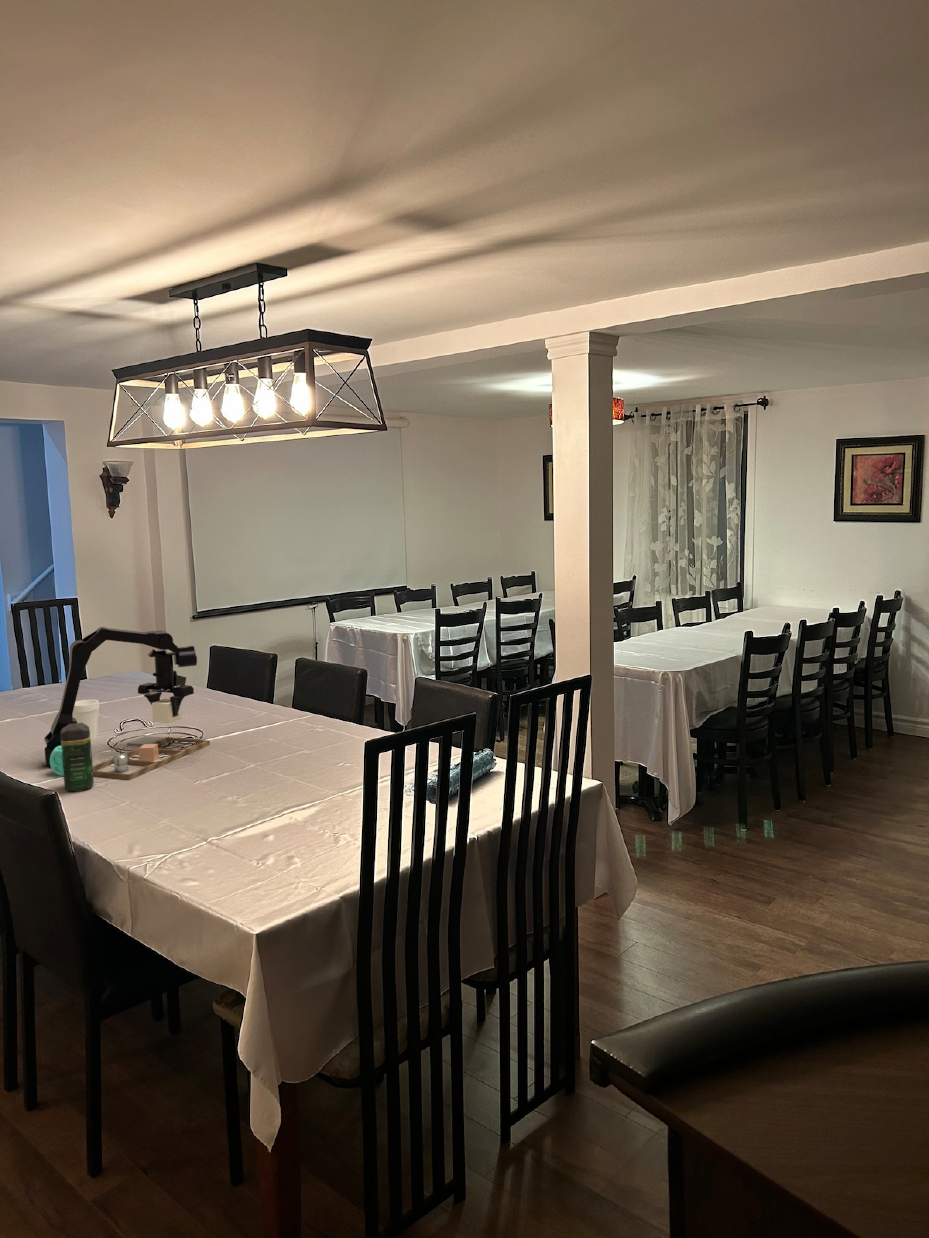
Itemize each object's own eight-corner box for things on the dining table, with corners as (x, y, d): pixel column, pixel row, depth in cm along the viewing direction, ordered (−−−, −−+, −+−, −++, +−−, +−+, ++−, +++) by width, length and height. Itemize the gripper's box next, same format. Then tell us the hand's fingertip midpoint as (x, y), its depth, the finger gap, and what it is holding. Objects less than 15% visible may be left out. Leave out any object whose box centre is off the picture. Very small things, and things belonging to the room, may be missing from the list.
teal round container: (90, 769, 280) (88, 744, 279) (72, 776, 273) (70, 751, 271) (68, 767, 282) (66, 742, 281) (50, 775, 275) (48, 749, 274)
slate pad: (148, 746, 304) (148, 744, 304) (127, 744, 307) (127, 742, 307) (166, 739, 313) (166, 737, 312) (145, 737, 316) (145, 736, 316)
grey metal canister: (122, 773, 275) (121, 757, 274) (111, 772, 276) (110, 756, 275) (131, 769, 278) (130, 753, 278) (120, 768, 280) (119, 752, 279)
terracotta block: (154, 761, 287) (153, 747, 286) (140, 761, 287) (138, 748, 286) (158, 757, 291) (157, 743, 291) (145, 757, 291) (144, 744, 291)
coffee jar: (94, 790, 259) (88, 727, 257) (64, 793, 257) (58, 730, 254) (95, 780, 268) (89, 719, 266) (66, 784, 266) (60, 722, 263)
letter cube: (169, 723, 297) (168, 703, 296) (153, 721, 299) (151, 702, 298) (182, 718, 303) (180, 699, 302) (166, 717, 305) (164, 698, 304)
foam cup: (77, 743, 310) (74, 707, 308) (69, 738, 317) (66, 702, 315) (105, 738, 316) (102, 702, 314) (97, 733, 323) (94, 698, 321)
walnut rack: (129, 779, 268) (129, 775, 268) (82, 775, 274) (82, 770, 274) (209, 744, 304) (209, 740, 304) (166, 741, 310) (166, 736, 310)
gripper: (202, 666, 303) (205, 711, 305) (157, 663, 309) (160, 707, 312) (181, 672, 293) (184, 719, 295) (135, 669, 299) (138, 715, 301)
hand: (167, 714), depth 301 cm, fingers closed on letter cube, 7 cm apart
